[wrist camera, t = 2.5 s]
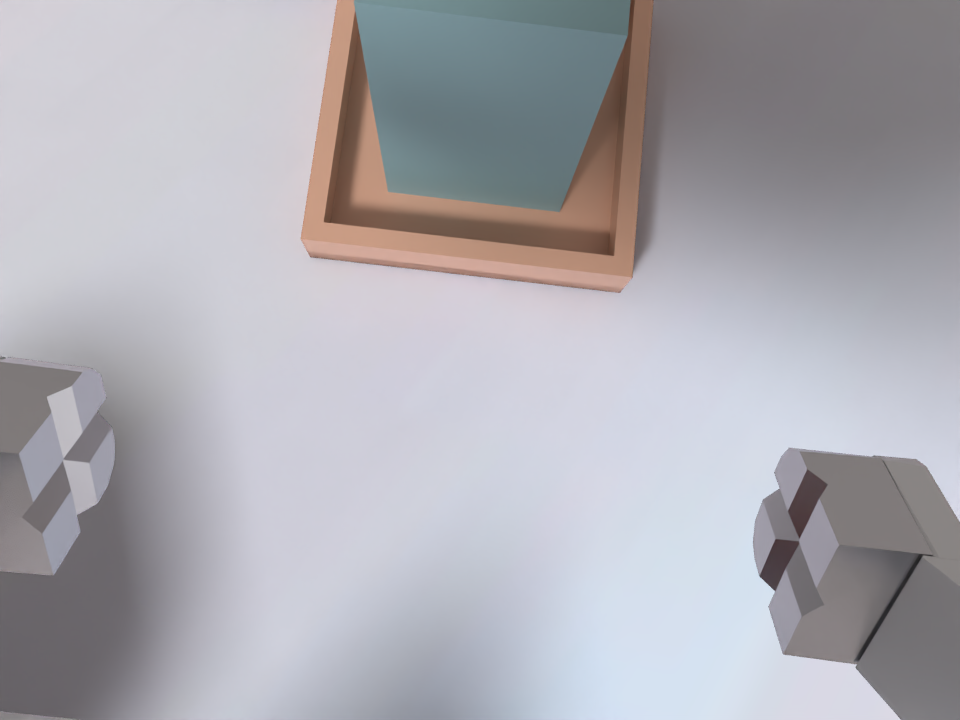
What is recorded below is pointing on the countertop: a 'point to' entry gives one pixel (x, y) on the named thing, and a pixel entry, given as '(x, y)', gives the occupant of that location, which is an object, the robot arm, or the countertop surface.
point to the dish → (471, 225)
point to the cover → (488, 93)
